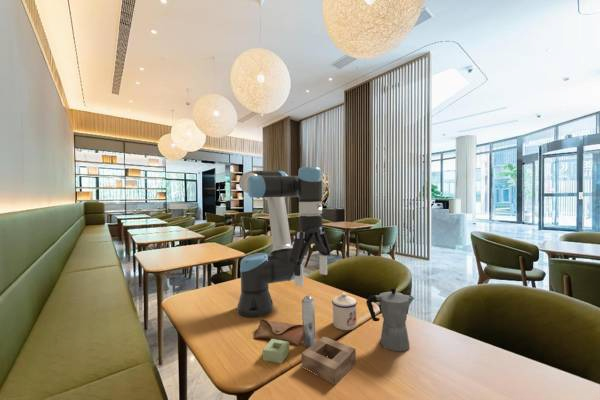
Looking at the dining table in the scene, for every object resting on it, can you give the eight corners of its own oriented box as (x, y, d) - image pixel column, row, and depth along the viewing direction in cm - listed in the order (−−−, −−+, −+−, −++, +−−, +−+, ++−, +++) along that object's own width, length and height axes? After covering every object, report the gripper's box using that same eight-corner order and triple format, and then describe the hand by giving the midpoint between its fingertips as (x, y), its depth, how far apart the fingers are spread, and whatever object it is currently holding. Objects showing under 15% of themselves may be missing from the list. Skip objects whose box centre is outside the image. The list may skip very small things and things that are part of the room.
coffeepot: (408, 334, 86) (407, 282, 86) (422, 351, 77) (421, 292, 77) (363, 336, 86) (362, 283, 86) (371, 353, 77) (370, 294, 76)
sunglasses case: (250, 339, 86) (254, 317, 89) (258, 340, 92) (262, 319, 95) (301, 346, 81) (304, 323, 84) (306, 347, 87) (308, 325, 90)
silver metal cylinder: (300, 344, 82) (299, 296, 82) (308, 338, 85) (307, 292, 85) (310, 348, 80) (309, 299, 80) (317, 342, 83) (316, 295, 83)
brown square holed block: (301, 367, 71) (301, 353, 71) (324, 348, 79) (323, 336, 79) (335, 385, 64) (334, 369, 64) (355, 362, 72) (355, 348, 72)
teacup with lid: (351, 333, 88) (350, 300, 88) (328, 326, 93) (327, 295, 93) (364, 319, 98) (363, 289, 97) (342, 313, 103) (341, 285, 103)
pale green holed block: (263, 359, 75) (262, 349, 75) (272, 348, 81) (271, 338, 81) (281, 363, 73) (281, 353, 73) (289, 351, 79) (289, 341, 79)
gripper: (295, 218, 70) (297, 294, 71) (339, 212, 90) (340, 271, 90) (275, 217, 75) (277, 288, 76) (322, 211, 95) (323, 268, 95)
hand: (312, 279), depth 83 cm, fingers open, 13 cm apart
